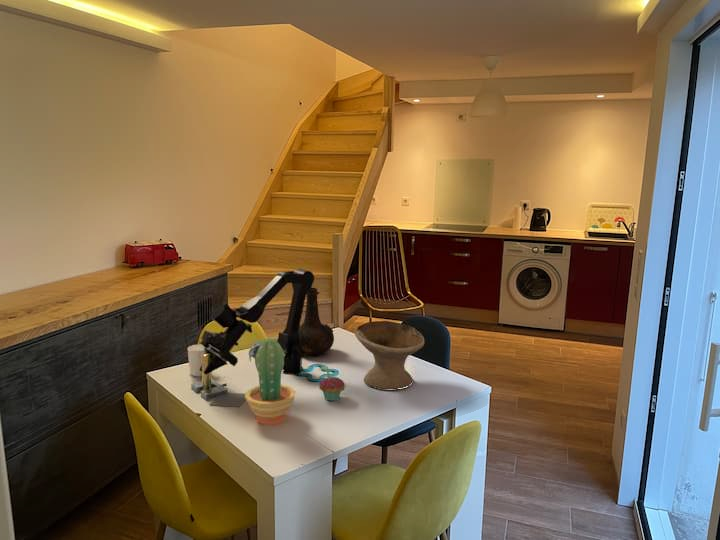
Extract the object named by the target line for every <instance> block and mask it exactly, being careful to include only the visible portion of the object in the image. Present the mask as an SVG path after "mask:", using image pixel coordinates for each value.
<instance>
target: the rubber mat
mask: <svg viewBox="0 0 720 540" xmlns="http://www.w3.org/2000/svg"><path fill="white" fill-rule="evenodd" d="M245 394H246V393H241V392H240V393H239V392H228V394H224V395H220V396H217V397H216V398H213V399H212V401H211V402H209V406H215V407H216V406H218V407H229V408H240V407H242V405H243V404H244V403H245V402H246V399H245Z"/></svg>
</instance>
